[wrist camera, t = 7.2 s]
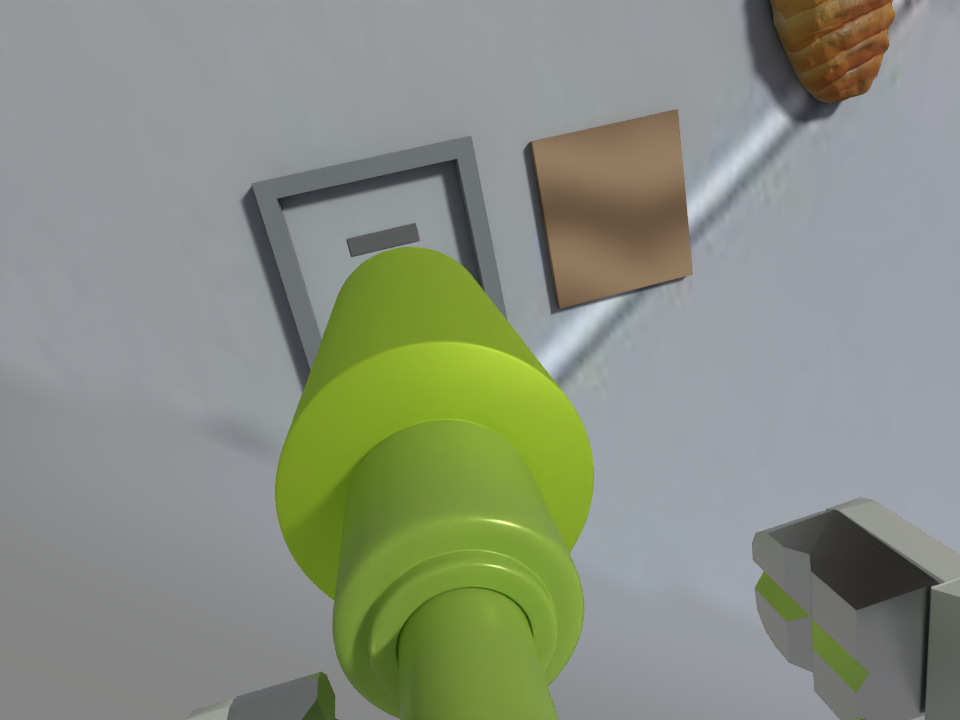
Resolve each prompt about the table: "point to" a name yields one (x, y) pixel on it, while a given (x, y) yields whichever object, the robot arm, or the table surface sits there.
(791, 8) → the pastry
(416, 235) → the slate frame
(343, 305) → the soap dispenser
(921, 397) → the table surface
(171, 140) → the table surface
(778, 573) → the robot arm
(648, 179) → the walnut pad
